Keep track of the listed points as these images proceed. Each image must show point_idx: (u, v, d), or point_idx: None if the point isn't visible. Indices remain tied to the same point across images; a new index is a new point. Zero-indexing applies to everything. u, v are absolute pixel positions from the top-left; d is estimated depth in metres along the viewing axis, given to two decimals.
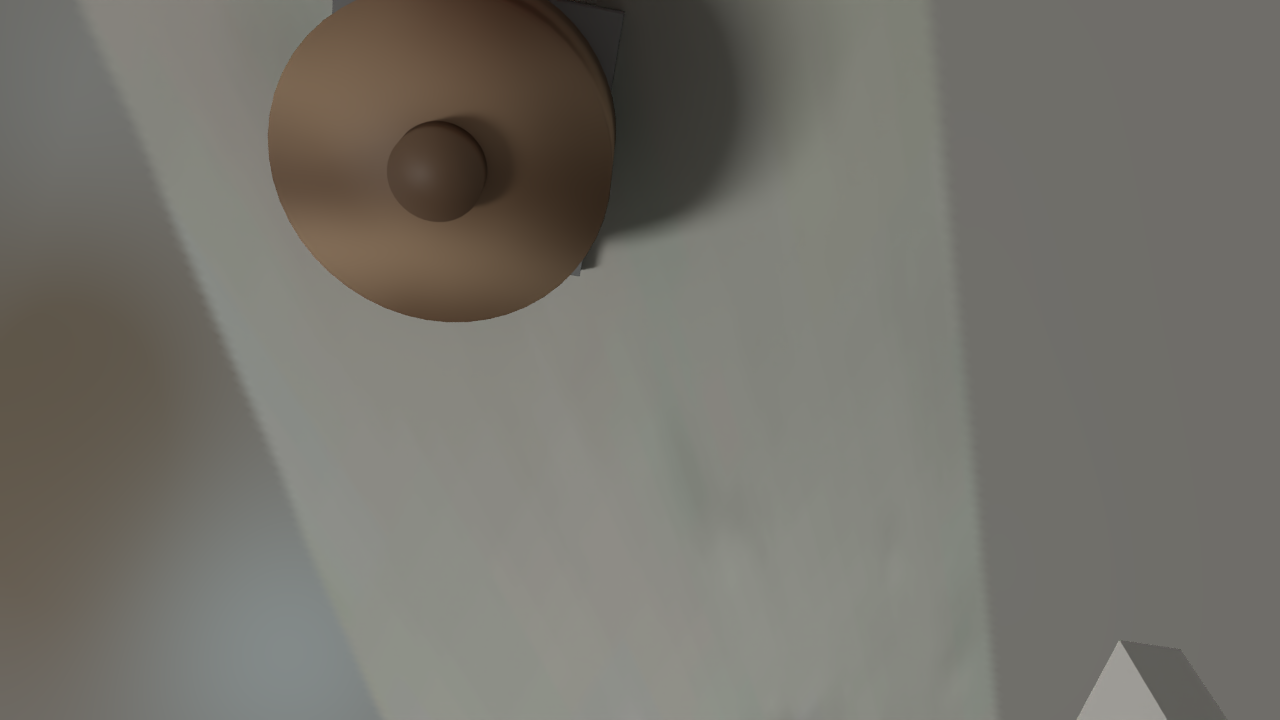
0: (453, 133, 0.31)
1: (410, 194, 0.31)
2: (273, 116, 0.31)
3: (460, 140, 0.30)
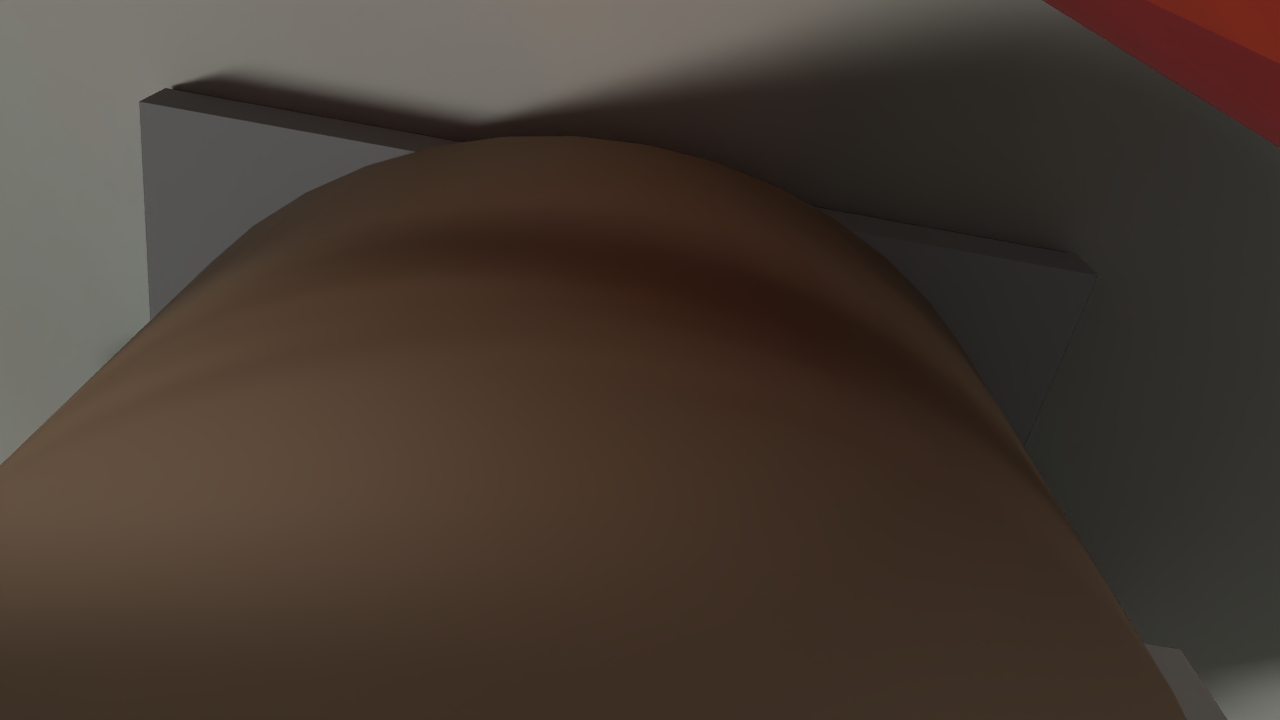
0: None
1: None
2: None
3: None
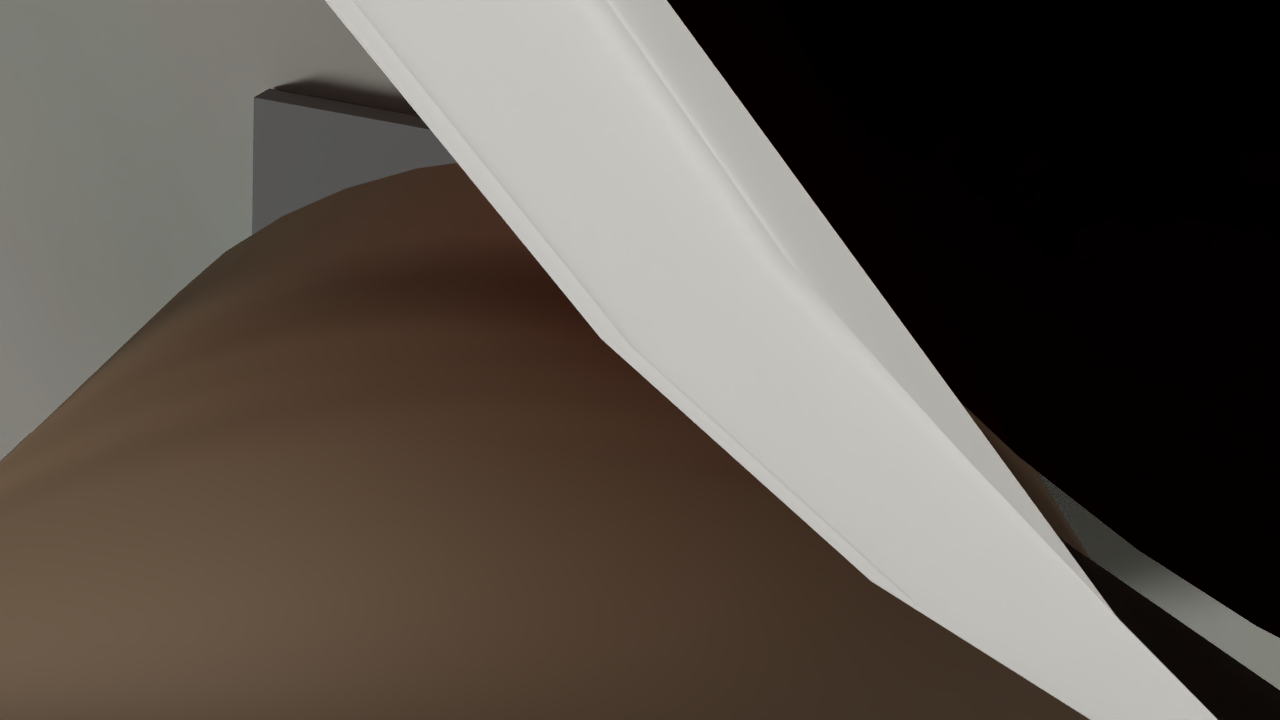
0: None
1: None
2: None
3: None
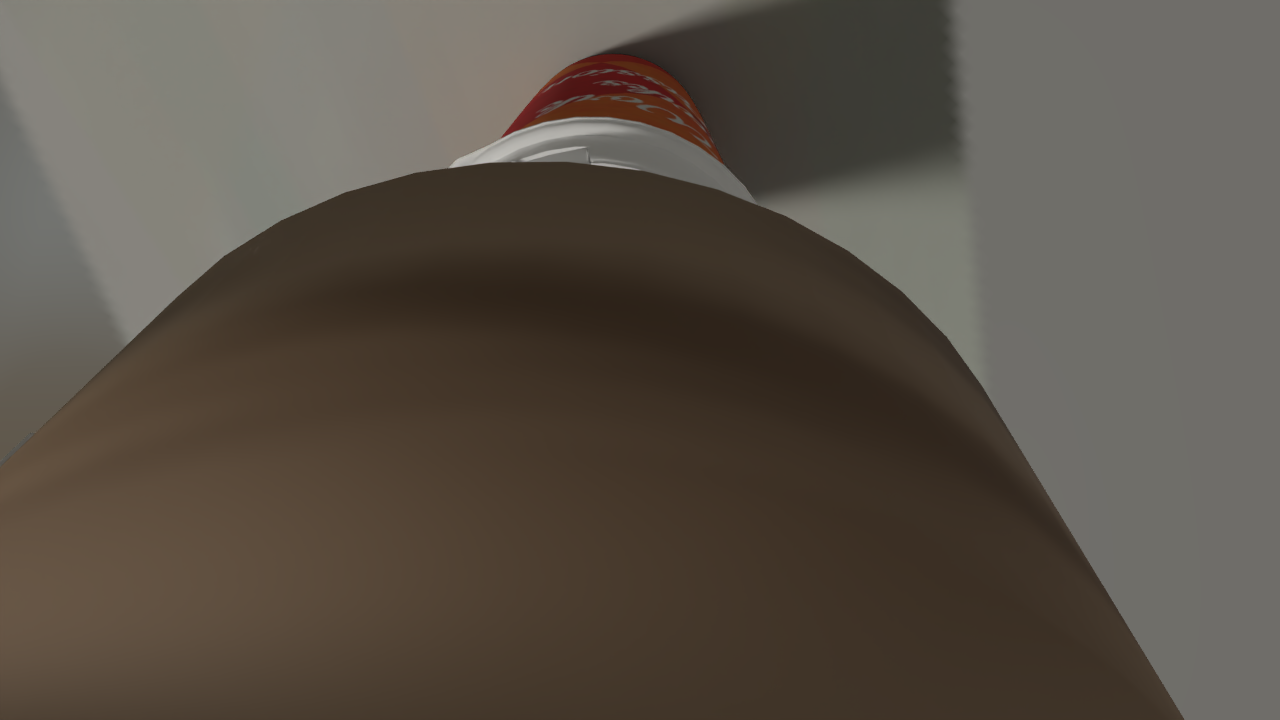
0: None
1: None
2: None
3: None
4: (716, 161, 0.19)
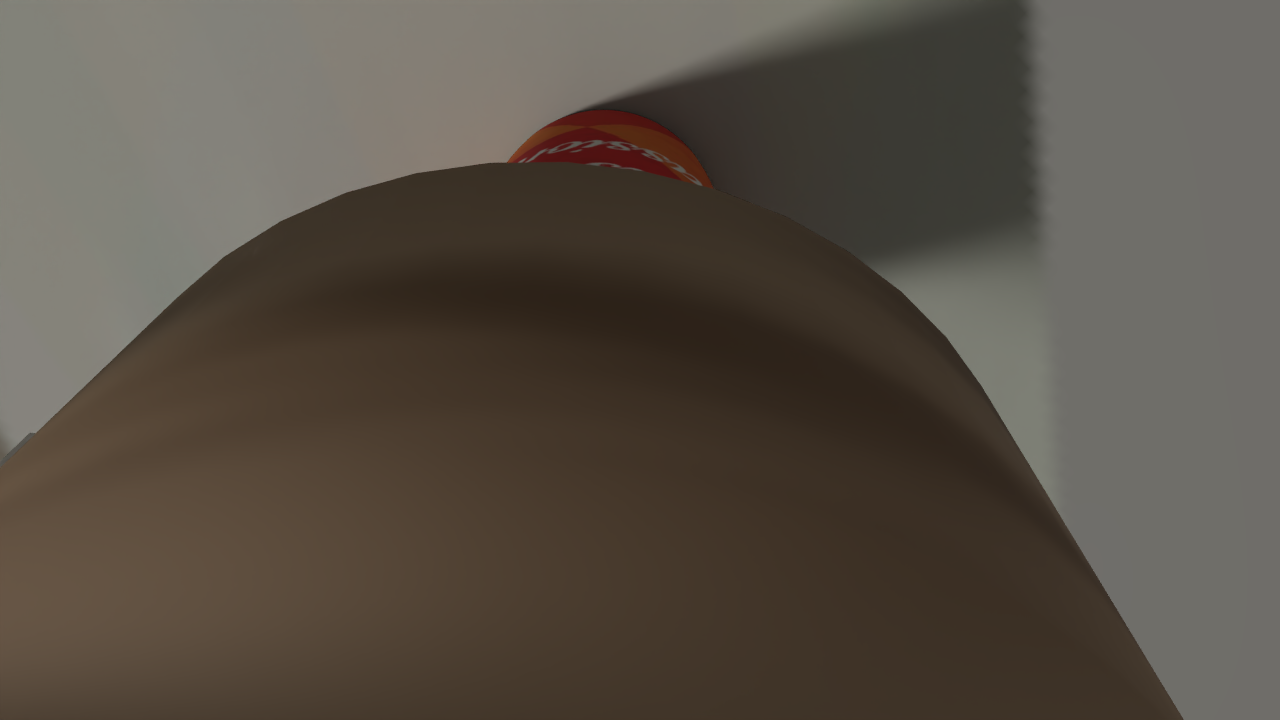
0: None
1: None
2: None
3: None
4: None
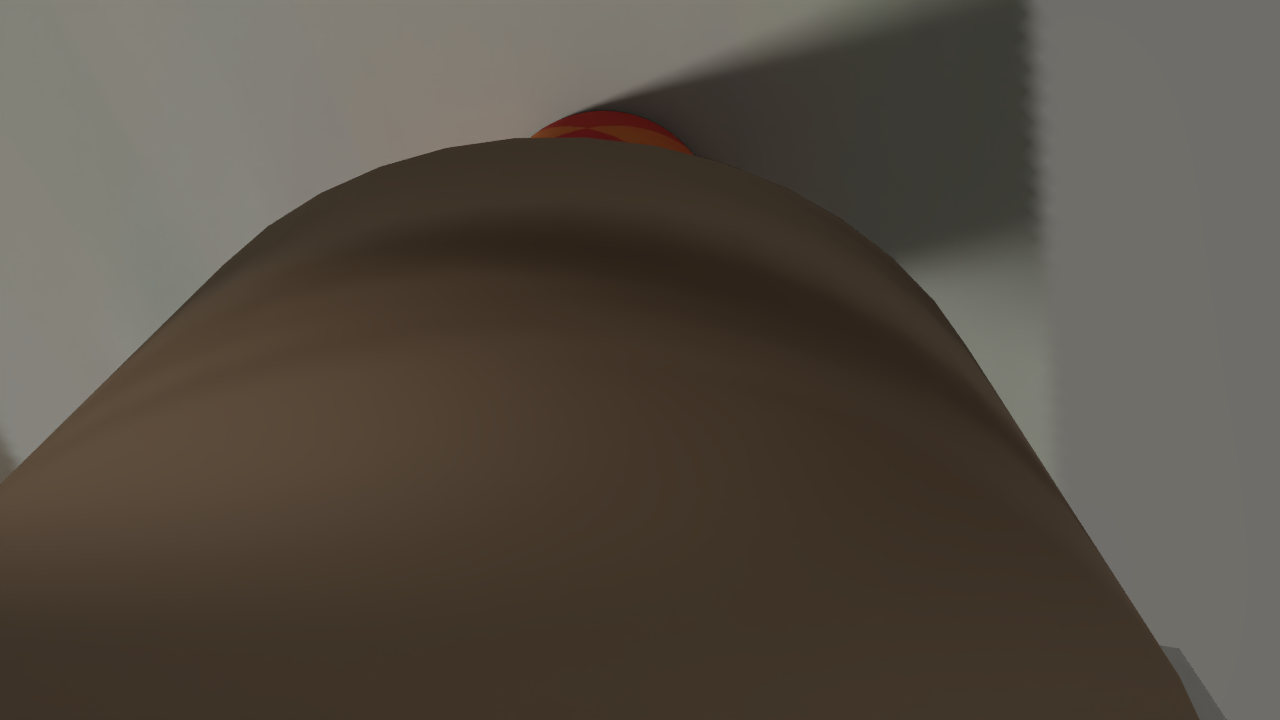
0: None
1: None
2: None
3: None
4: None
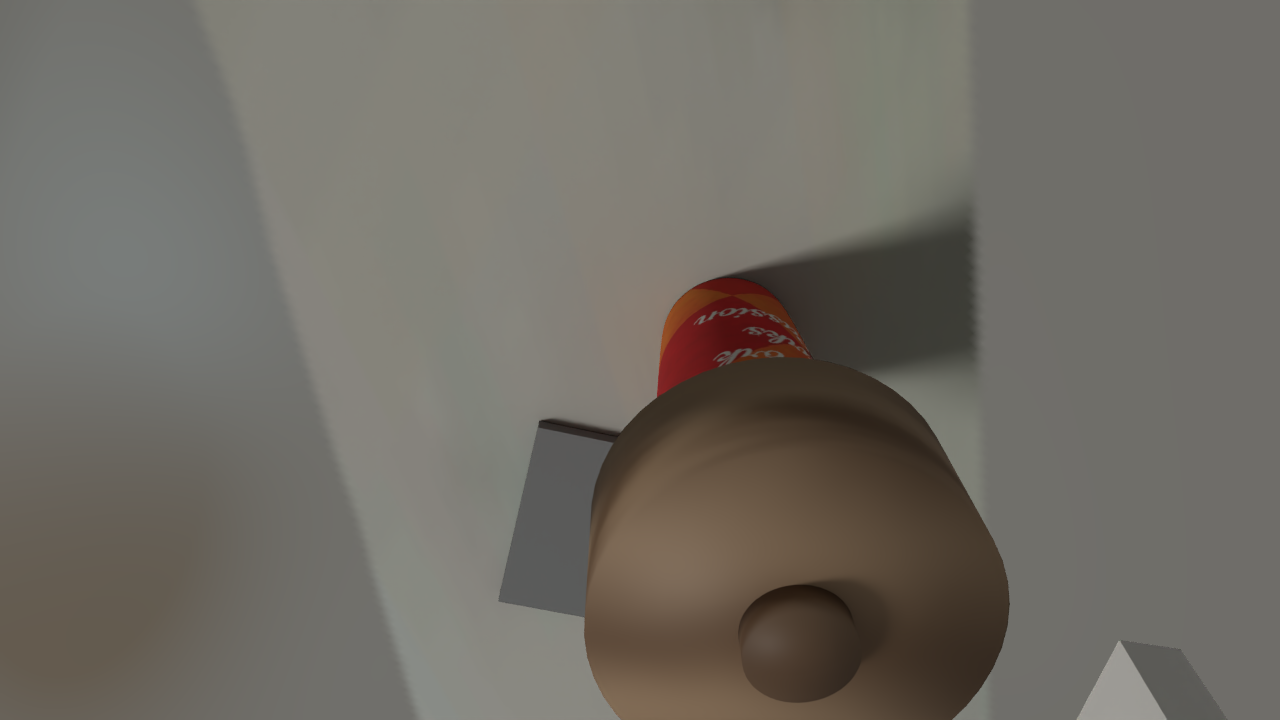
0: (834, 613, 0.24)
1: (766, 674, 0.25)
2: (600, 572, 0.25)
3: (843, 623, 0.24)
4: None
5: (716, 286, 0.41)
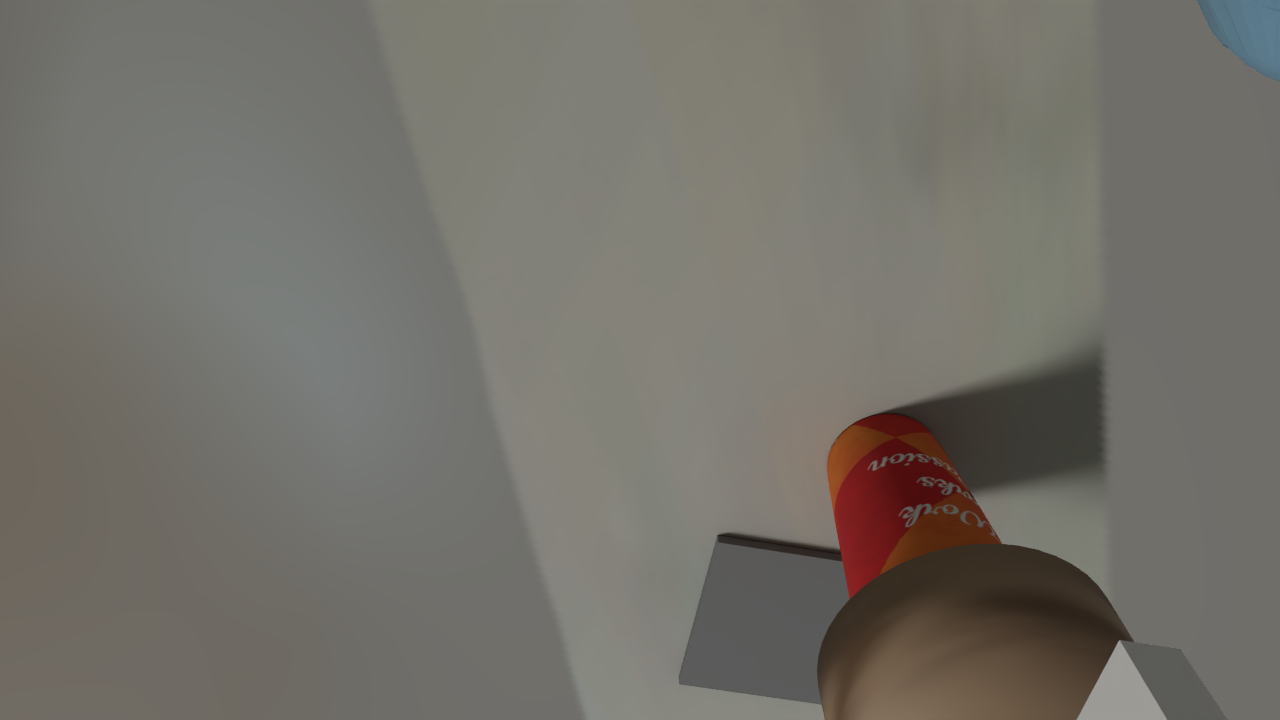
0: None
1: None
2: None
3: None
4: None
5: (878, 425, 0.47)
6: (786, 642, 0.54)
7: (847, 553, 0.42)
